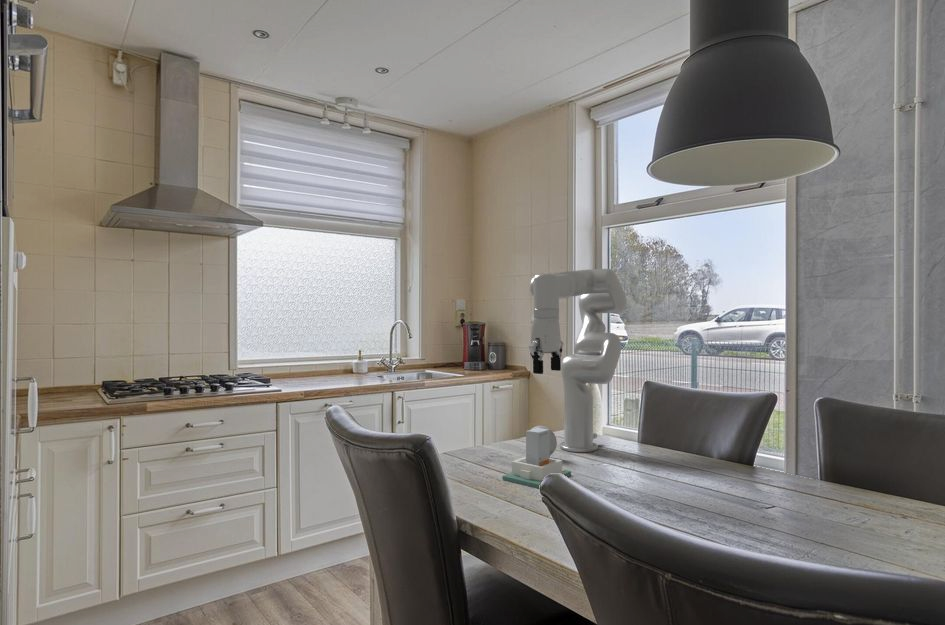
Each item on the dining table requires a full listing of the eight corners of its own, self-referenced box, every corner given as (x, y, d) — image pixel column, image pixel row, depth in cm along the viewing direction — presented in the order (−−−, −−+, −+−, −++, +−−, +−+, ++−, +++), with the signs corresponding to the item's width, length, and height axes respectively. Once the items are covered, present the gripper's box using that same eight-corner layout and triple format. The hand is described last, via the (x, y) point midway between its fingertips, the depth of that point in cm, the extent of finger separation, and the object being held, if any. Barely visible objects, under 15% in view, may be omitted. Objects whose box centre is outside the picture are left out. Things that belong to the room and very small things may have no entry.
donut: (524, 456, 174) (524, 425, 174) (529, 454, 177) (529, 423, 177) (554, 460, 169) (554, 428, 169) (558, 458, 172) (558, 426, 172)
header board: (535, 467, 162) (535, 452, 162) (571, 474, 154) (570, 458, 154) (502, 479, 150) (502, 463, 150) (539, 488, 142) (539, 471, 142)
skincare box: (538, 477, 148) (538, 432, 149) (525, 474, 151) (525, 430, 151) (550, 472, 153) (550, 429, 153) (537, 469, 156) (537, 427, 156)
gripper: (551, 314, 174) (551, 368, 174) (519, 315, 161) (520, 374, 161) (571, 314, 169) (572, 370, 169) (541, 315, 156) (542, 375, 156)
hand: (547, 371), depth 165 cm, fingers open, 9 cm apart
